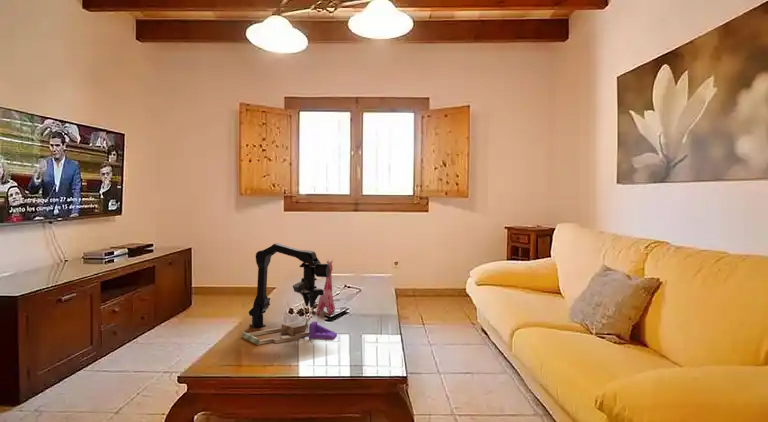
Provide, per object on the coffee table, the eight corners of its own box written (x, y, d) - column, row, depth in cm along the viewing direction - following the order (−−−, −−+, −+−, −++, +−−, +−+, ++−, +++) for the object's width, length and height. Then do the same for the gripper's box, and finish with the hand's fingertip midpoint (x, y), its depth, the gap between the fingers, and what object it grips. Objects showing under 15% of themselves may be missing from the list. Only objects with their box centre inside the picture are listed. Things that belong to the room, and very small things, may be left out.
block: (281, 333, 289) (281, 324, 289) (293, 330, 294) (293, 321, 294) (293, 337, 282) (293, 327, 282) (305, 334, 287) (305, 325, 287)
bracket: (309, 338, 280) (309, 324, 279) (313, 335, 286) (313, 321, 286) (333, 340, 277) (333, 326, 277) (336, 336, 284) (336, 322, 284)
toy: (337, 307, 347) (338, 257, 346) (329, 317, 322) (329, 263, 320) (323, 307, 348) (324, 257, 346) (314, 317, 322) (314, 263, 321)
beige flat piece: (241, 337, 280) (241, 331, 280) (292, 328, 297) (292, 323, 297) (260, 346, 265) (260, 340, 265) (311, 336, 282) (311, 331, 282)
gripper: (285, 275, 294) (285, 305, 295) (305, 280, 280) (304, 312, 281) (304, 273, 301) (304, 302, 302) (324, 278, 287) (324, 309, 288)
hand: (309, 306), depth 293 cm, fingers open, 4 cm apart
